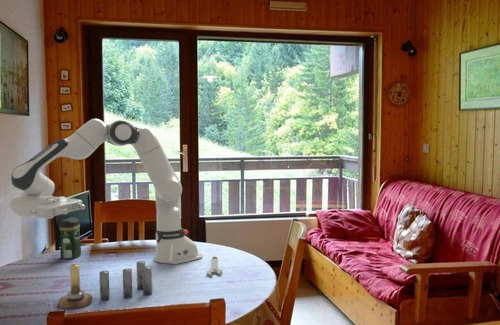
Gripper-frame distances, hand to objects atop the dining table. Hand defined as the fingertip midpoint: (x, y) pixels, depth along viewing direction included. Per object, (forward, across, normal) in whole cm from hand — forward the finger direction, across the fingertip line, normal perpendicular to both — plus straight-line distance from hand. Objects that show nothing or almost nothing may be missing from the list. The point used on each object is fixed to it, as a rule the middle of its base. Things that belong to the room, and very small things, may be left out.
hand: (75, 209), depth 169 cm
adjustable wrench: (+43, +36, +31) cm, 64 cm away
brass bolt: (+11, -15, +28) cm, 34 cm away
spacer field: (+25, -2, +30) cm, 39 cm away
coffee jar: (-29, +30, +30) cm, 52 cm away
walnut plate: (+11, -15, +30) cm, 35 cm away
